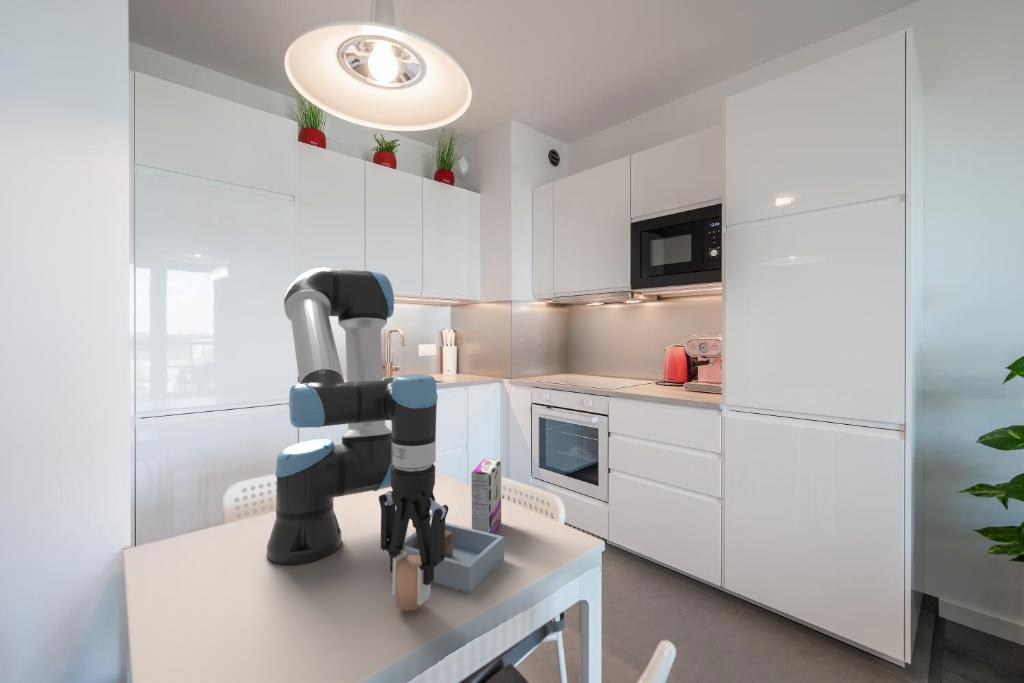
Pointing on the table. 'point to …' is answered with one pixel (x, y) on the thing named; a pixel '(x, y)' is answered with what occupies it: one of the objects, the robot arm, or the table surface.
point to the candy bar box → (486, 496)
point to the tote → (464, 557)
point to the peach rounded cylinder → (407, 583)
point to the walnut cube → (448, 544)
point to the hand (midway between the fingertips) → (411, 595)
